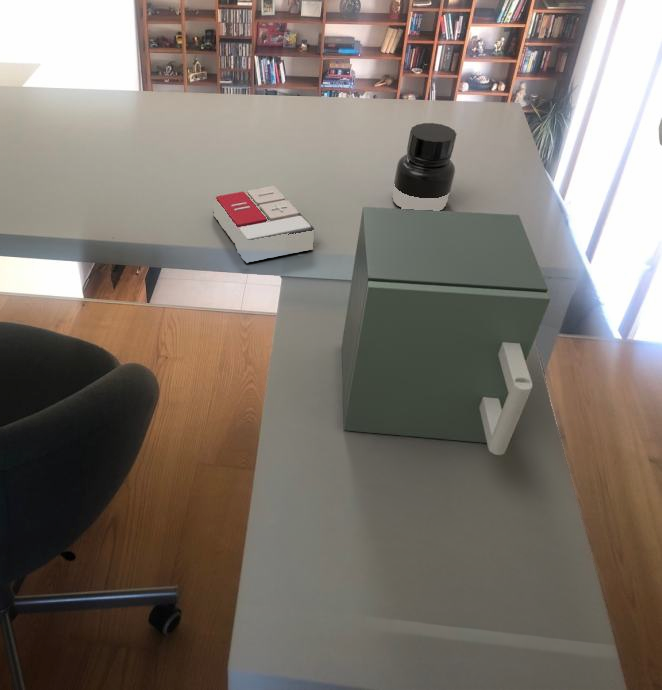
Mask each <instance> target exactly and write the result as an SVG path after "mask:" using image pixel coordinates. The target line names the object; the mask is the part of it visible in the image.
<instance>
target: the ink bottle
mask: <svg viewBox="0 0 662 690" xmlns="http://www.w3.org/2000/svg"><path fill="white" fill-rule="evenodd" d="M456 138H457V132H456V131H455V129H453V128H451V127H450V126H448V125H445V124H442V123H435V122H423V123H419V124H418V123H417V124H416V125H414V126H412V127H411V129H410V131H409V137H408V142H407V149H406V154H404V155H403V156H401V157H400V159H399V160H398V162H397V165H396V170H395V176H394V181H393V185H394V184H395V187H396V188H397V189H398V190H399V191H401V192H402V193H404V194H407V195H409V196H414V197H419V198H439V197H442V196H445V195H447V194H448V193H449V192H450V193H451V189H452V185H453V182H454V177H455V174H456V173H455V172H456V167H455V164H454V162H453V161H452V159H451V158H452V155H453V151H454V149H455V143H456Z"/></svg>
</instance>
